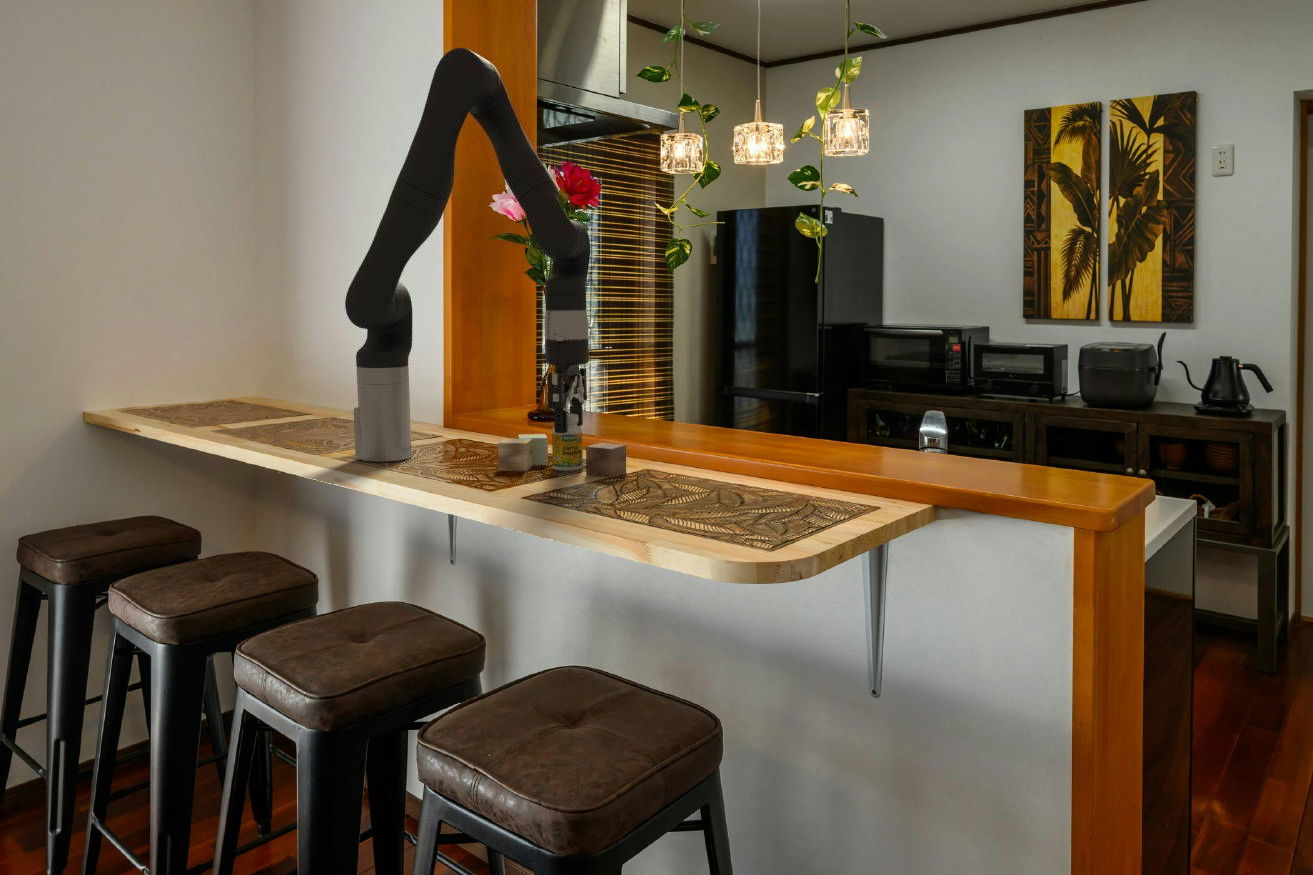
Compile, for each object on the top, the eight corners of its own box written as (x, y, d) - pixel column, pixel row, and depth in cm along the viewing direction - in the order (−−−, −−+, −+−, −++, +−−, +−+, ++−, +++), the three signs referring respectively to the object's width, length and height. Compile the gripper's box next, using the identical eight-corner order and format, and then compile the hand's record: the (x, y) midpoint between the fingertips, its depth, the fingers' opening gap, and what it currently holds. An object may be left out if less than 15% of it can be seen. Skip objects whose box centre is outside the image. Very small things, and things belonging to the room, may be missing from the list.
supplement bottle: (573, 464, 164) (573, 412, 162) (588, 469, 159) (588, 415, 158) (547, 467, 161) (546, 414, 159) (561, 472, 156) (560, 417, 155)
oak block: (498, 471, 158) (498, 442, 157) (504, 465, 163) (504, 438, 162) (526, 471, 158) (526, 443, 157) (532, 466, 163) (531, 438, 162)
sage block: (520, 466, 163) (519, 438, 162) (518, 461, 168) (518, 434, 167) (547, 465, 164) (547, 437, 163) (545, 460, 169) (545, 433, 168)
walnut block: (586, 475, 154) (586, 446, 154) (601, 470, 159) (601, 442, 158) (611, 478, 152) (611, 449, 151) (626, 473, 156) (626, 444, 156)
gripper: (559, 335, 164) (561, 423, 167) (531, 338, 151) (534, 434, 153) (599, 335, 163) (601, 424, 165) (574, 338, 149) (576, 435, 151)
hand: (569, 429), depth 159 cm, fingers open, 8 cm apart
